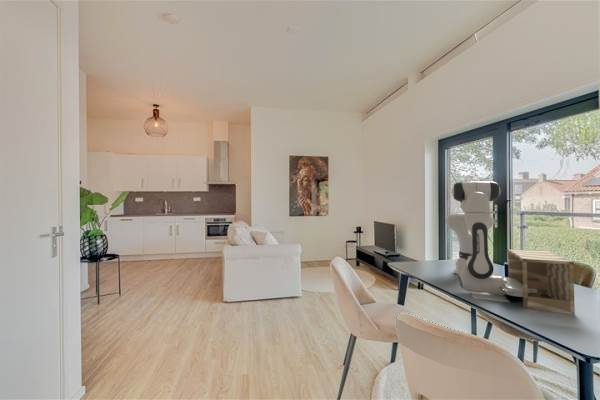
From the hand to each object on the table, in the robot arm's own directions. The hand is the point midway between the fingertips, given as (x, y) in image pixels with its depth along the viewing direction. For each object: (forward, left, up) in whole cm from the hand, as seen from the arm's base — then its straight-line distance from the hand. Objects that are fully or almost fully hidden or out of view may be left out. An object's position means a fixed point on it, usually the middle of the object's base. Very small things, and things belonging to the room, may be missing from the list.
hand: (534, 288), depth 127 cm
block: (0, -1, -6) cm, 6 cm away
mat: (0, -18, -6) cm, 19 cm away
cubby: (0, +1, -6) cm, 6 cm away
